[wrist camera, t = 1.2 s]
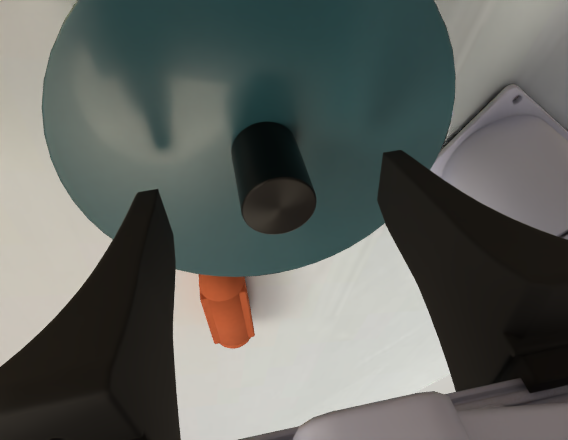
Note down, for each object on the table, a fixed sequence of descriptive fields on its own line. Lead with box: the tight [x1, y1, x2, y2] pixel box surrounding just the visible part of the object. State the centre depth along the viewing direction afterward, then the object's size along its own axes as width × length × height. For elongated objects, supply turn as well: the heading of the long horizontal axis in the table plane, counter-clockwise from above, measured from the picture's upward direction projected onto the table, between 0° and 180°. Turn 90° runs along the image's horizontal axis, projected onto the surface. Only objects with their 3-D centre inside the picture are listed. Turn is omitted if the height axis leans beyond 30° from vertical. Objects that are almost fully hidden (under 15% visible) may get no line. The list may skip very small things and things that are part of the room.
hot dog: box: [199, 274, 255, 348], centre depth 31 cm, size 9×3×3 cm, turn 3°
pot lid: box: [42, 0, 455, 277], centre depth 15 cm, size 14×14×4 cm
